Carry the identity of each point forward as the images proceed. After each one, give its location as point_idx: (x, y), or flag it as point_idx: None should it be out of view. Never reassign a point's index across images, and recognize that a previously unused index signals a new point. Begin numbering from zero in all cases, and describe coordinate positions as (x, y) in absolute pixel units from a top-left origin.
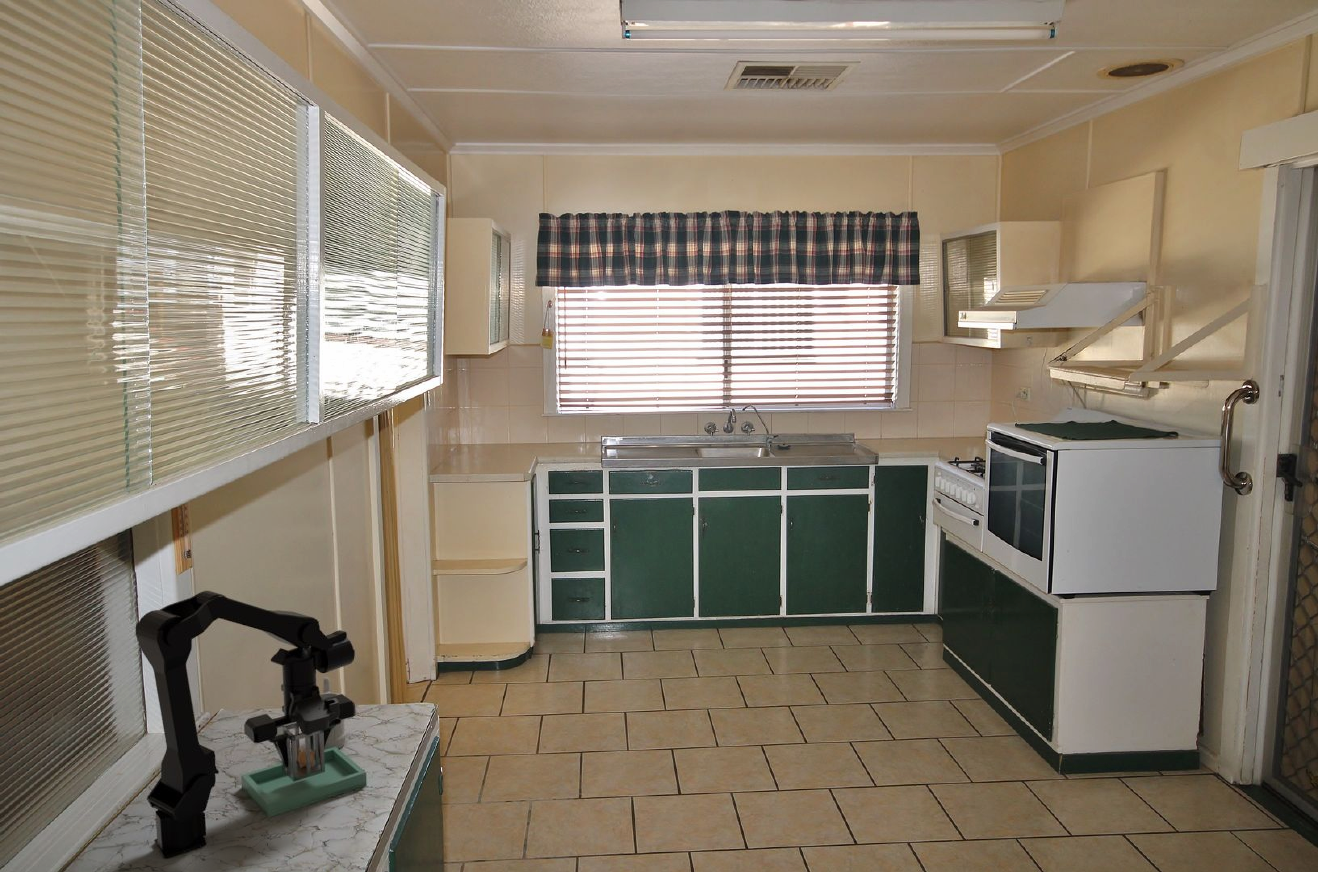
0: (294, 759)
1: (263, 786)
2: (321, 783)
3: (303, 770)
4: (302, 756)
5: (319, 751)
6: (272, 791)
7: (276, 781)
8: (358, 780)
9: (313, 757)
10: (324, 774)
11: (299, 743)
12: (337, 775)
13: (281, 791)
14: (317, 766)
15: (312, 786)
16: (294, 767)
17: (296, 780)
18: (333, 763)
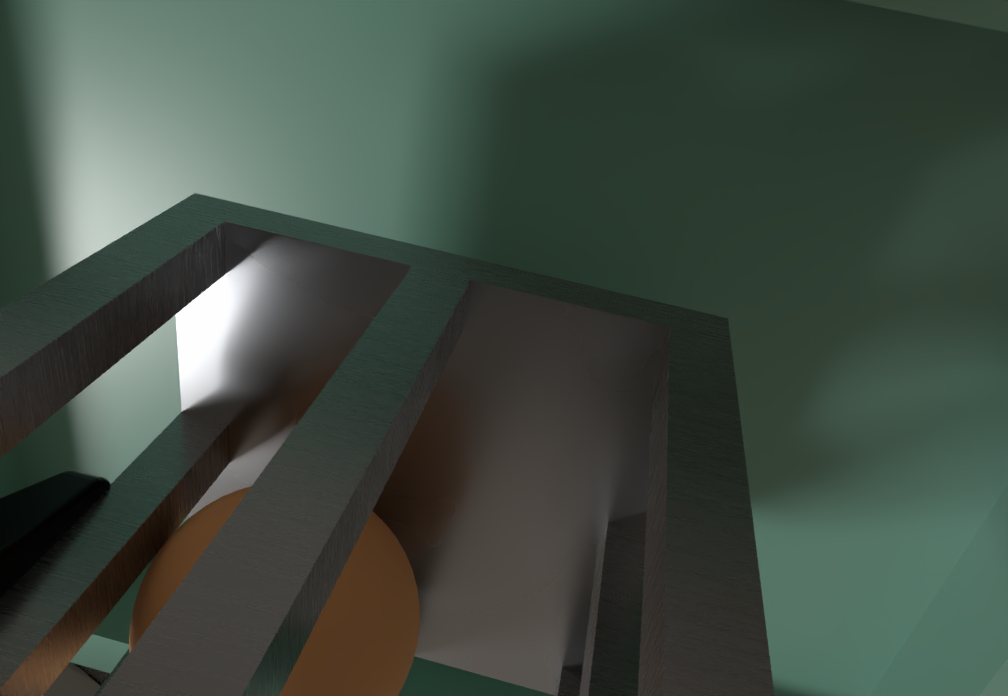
0: (713, 637)
1: (784, 635)
2: (316, 203)
3: (443, 445)
4: (341, 661)
5: (17, 551)
6: (812, 496)
7: None
8: None
9: (188, 532)
10: None
11: None
12: (91, 218)
13: (749, 422)
14: (227, 382)
15: (433, 229)
16: (717, 472)
17: (680, 308)
18: (52, 462)
